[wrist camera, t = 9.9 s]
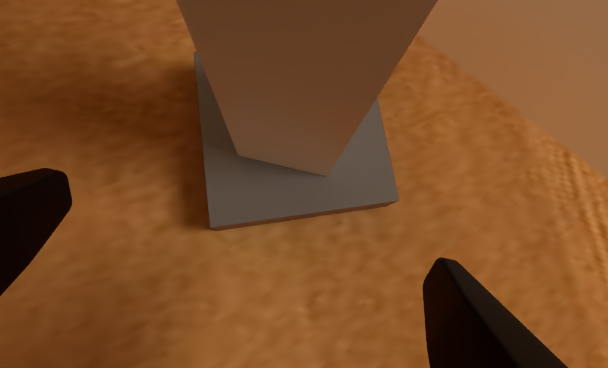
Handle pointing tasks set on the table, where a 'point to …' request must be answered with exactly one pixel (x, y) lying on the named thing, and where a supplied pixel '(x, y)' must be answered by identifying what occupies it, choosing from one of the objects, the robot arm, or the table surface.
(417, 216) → the table surface
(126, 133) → the table surface
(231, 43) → the tall white pillar block
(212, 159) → the plate
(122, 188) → the table surface
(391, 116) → the table surface
